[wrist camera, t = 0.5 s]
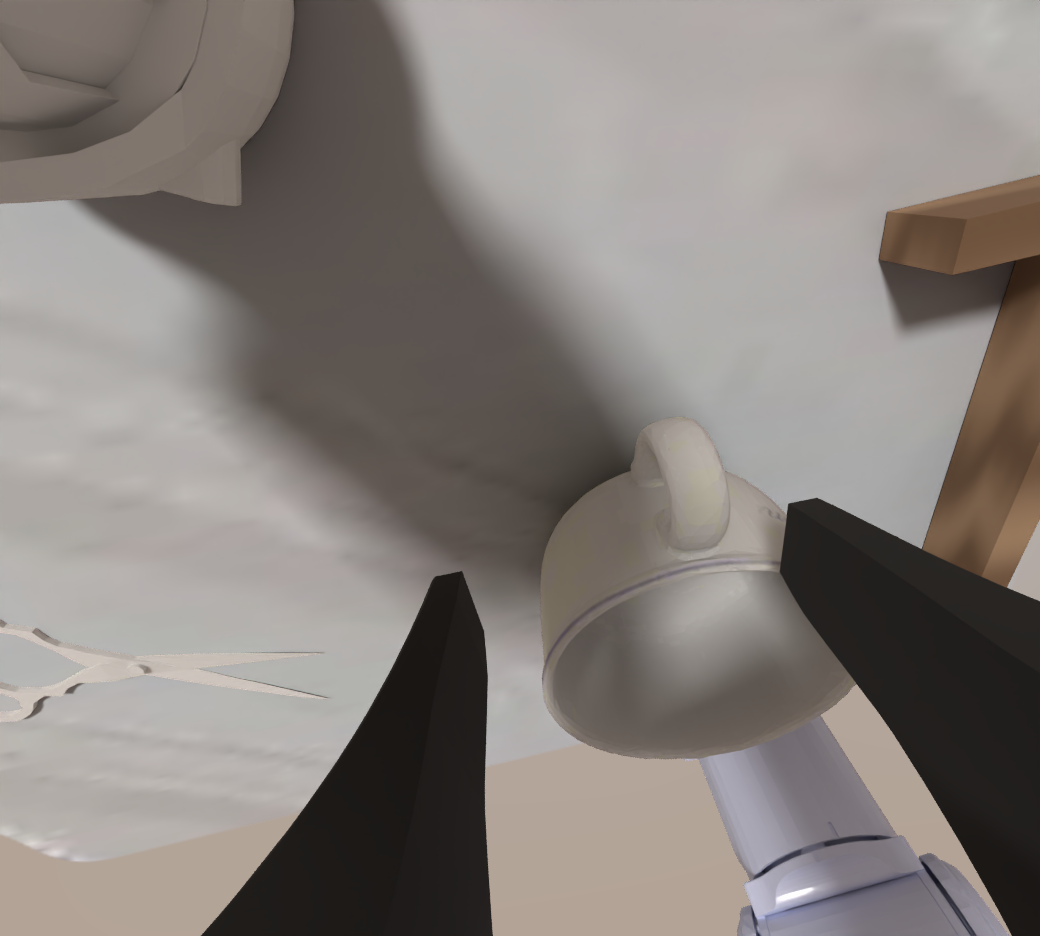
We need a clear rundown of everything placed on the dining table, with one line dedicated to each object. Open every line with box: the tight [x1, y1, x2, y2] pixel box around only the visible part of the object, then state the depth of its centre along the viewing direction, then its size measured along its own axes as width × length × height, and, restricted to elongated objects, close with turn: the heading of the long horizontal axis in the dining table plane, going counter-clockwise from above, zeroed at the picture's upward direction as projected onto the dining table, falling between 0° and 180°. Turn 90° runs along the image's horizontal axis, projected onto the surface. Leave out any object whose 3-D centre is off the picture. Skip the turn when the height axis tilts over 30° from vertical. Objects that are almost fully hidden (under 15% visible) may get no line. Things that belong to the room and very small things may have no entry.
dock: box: [879, 175, 1040, 588], centre depth 20 cm, size 20×7×3 cm, turn 12°
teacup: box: [540, 417, 856, 759], centre depth 18 cm, size 14×11×8 cm
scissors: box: [0, 620, 328, 722], centre depth 24 cm, size 11×1×20 cm
